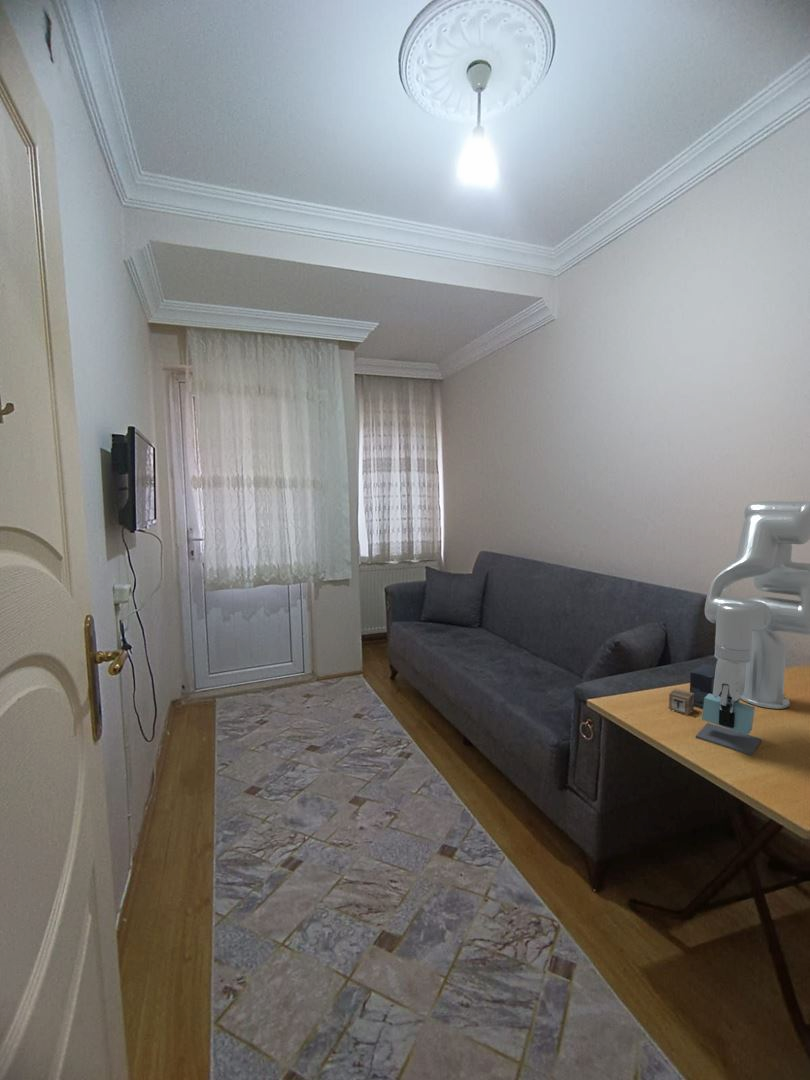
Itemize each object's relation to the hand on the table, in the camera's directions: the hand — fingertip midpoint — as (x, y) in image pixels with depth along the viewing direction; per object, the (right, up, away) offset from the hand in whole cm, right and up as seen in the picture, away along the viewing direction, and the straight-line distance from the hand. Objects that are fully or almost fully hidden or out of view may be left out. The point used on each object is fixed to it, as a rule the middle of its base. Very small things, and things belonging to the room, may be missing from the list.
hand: (728, 722), depth 122 cm
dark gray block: (0, -5, +1) cm, 4 cm away
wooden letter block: (-2, -3, +18) cm, 18 cm away
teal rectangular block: (0, -1, 0) cm, 1 cm away
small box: (+8, -3, +21) cm, 23 cm away
